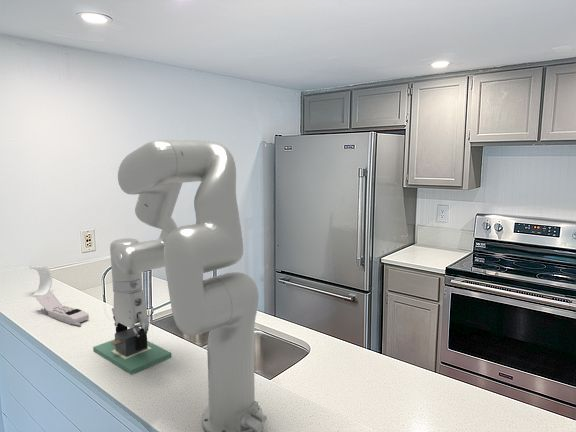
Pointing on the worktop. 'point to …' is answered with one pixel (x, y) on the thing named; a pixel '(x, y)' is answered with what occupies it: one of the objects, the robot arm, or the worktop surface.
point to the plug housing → (126, 342)
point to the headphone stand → (43, 281)
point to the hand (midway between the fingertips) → (131, 343)
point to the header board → (133, 356)
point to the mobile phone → (61, 310)
